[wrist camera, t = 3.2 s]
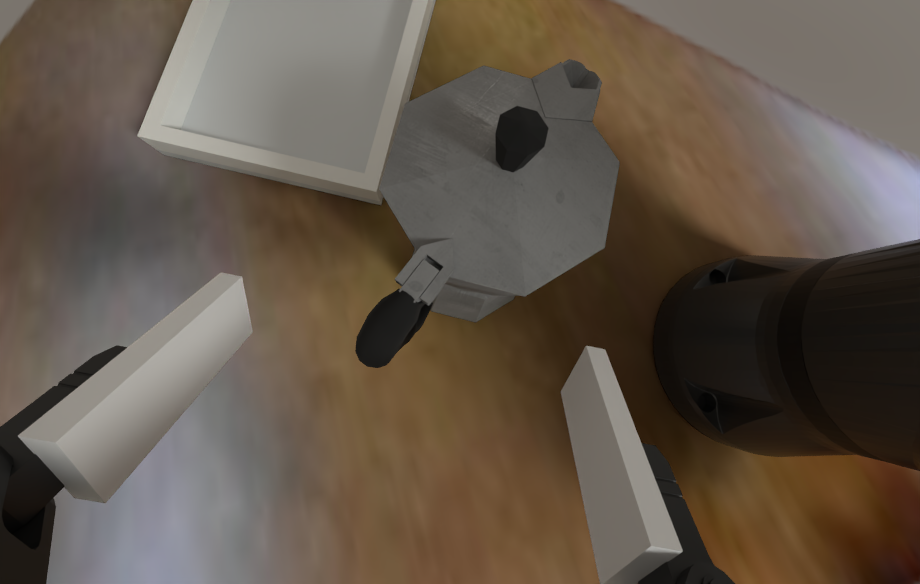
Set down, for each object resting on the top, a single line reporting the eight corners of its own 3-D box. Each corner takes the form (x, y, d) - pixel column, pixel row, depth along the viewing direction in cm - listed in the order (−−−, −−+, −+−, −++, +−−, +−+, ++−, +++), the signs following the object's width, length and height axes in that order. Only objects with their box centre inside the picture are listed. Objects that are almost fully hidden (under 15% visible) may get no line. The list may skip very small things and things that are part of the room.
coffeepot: (466, 171, 29) (520, -97, 12) (557, 237, 29) (754, 66, 11) (348, 318, 27) (185, 262, 9) (447, 392, 26) (480, 485, 9)
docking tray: (447, -46, 33) (449, -79, 30) (381, 205, 28) (376, 191, 26) (261, -96, 32) (246, -133, 29) (163, 155, 27) (137, 136, 25)
